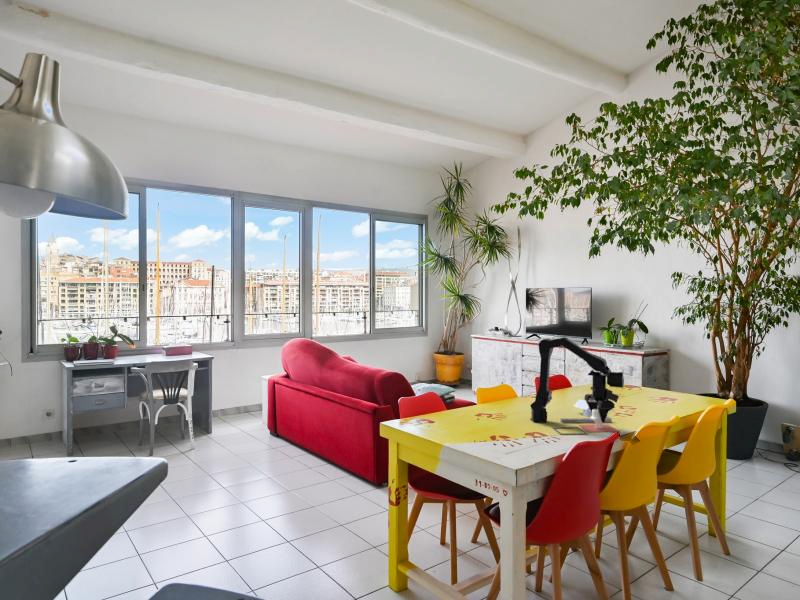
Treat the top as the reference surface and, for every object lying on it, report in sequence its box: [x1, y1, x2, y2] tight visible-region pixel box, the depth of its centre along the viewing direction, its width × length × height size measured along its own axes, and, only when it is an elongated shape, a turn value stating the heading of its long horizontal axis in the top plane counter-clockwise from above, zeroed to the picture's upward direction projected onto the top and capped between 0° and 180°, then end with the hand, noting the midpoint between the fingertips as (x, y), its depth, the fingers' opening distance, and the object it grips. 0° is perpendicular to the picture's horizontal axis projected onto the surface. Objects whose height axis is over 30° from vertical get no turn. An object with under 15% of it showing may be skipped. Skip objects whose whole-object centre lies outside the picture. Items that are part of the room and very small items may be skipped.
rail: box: [560, 417, 612, 424], centre depth 251 cm, size 24×2×2 cm, turn 93°
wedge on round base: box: [573, 398, 598, 418], centre depth 266 cm, size 9×7×13 cm
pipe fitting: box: [589, 409, 608, 429], centre depth 239 cm, size 6×7×8 cm
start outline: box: [551, 426, 589, 436], centre depth 234 cm, size 12×11×1 cm
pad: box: [578, 423, 621, 433], centre depth 239 cm, size 14×12×1 cm
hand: (598, 419), depth 239 cm, fingers open, 9 cm apart
